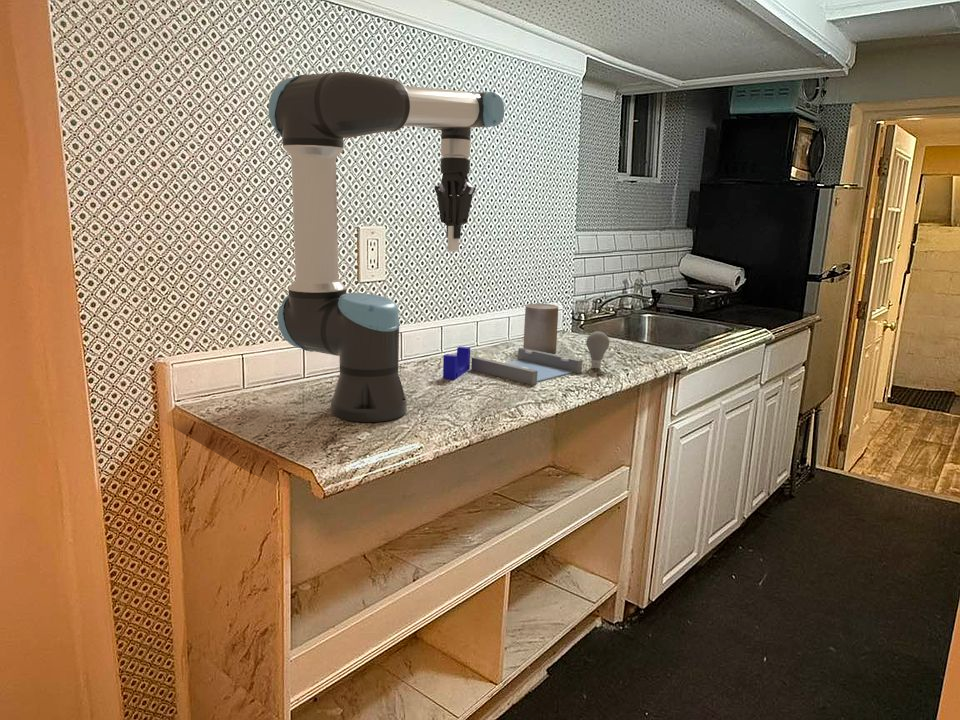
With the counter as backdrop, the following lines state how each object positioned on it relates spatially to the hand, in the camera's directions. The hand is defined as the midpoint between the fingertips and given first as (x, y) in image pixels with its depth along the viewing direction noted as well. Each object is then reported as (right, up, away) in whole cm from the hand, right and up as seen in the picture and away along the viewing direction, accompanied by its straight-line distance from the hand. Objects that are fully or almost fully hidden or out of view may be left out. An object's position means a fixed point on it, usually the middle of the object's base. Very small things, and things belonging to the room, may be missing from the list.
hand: (453, 251), depth 179 cm
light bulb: (+38, -31, +3) cm, 49 cm away
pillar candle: (+24, -26, +22) cm, 42 cm away
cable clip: (0, -32, -8) cm, 33 cm away
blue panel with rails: (+19, -31, -2) cm, 37 cm away
